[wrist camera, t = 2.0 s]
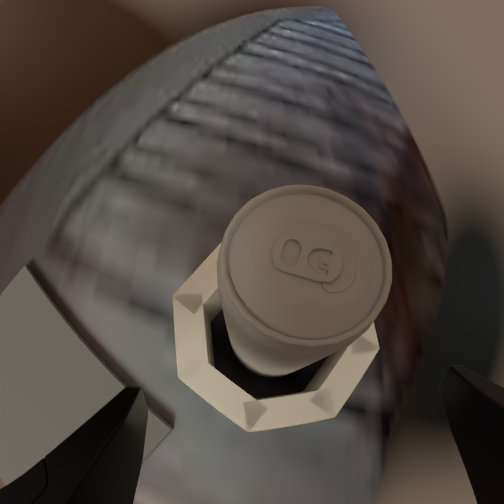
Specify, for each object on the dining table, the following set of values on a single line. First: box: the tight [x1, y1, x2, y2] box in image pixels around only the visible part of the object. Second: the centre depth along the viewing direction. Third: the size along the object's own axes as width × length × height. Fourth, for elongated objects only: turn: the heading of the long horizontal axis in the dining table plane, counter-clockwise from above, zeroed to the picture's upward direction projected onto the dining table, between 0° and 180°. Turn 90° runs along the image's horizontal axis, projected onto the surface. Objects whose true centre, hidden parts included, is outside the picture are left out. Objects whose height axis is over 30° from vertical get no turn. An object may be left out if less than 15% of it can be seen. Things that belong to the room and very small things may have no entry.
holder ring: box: [173, 242, 379, 432], centre depth 17 cm, size 10×10×4 cm
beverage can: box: [217, 185, 392, 378], centre depth 13 cm, size 5×5×12 cm
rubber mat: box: [0, 265, 174, 485], centre depth 15 cm, size 16×14×1 cm
